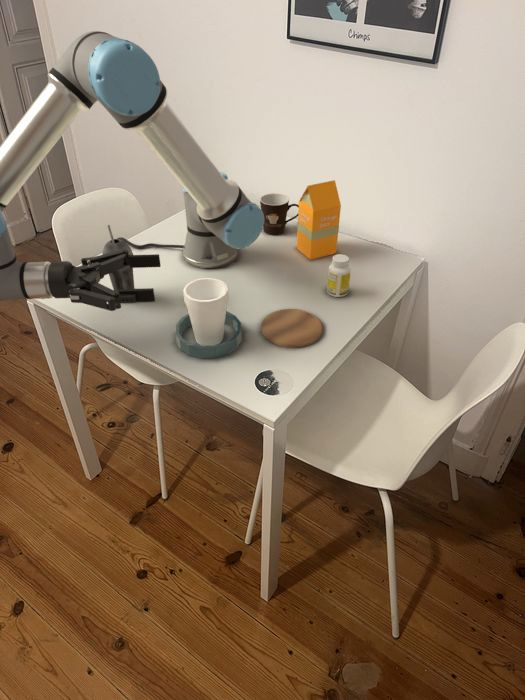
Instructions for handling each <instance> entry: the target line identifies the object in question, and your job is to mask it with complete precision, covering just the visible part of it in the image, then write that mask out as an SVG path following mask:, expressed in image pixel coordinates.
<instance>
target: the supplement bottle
mask: <svg viewBox="0 0 525 700" xmlns="http://www.w3.org/2000/svg"><path fill="white" fill-rule="evenodd" d="M349 262H350V257H349V256H348V255H346V254H342V253H340V254H335V255H333V256H332V260H331V264H330V265H329V266H328V273H327V283H326V285H327V286H326V292H327V294H328V295H330V296H331V297H335V298H342V297H346V296H347V295H348V293H349V287H350V278H351V271H352V270H351V266H350V264H349Z"/></svg>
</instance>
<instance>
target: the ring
mask: <svg viewBox="0 0 525 700" xmlns="http://www.w3.org/2000/svg"><path fill="white" fill-rule="evenodd" d="M225 324H227V325H228V326H230V327H232V328H233V329H234V330H235V334H234V335H233V336H232V337H231V338H229V339H227V340H226V341H224V342H220V343H219V344H217V345H209V346H202V345H200V344H196V343H191V342H190V341H188V340H187V339H184V338H183V336H182V335H183V333H184V332H185V331H186V330H187V329H189V328H190V327H192V324H191V320H190V316H189V313H187V314H185V315H183V316H182V317H181V318H180V319H179V321H178V322H176V323H175V339H176V340H175V341H176V344H177V347H178V348H179V349H180V351H181V352H183V353H185V354H187V356H189V357H194V358H198V359H202V360H203V359H217V358H220V357H223V356H226V355H227V356H228V355H229V354H231V353H232V352H233V351H235V350H236V349H238V347H239V345H240V344H241V343H242V341H243V340H242V339H243V338H242V322H241V321H240V320H239V318H238V317H237V315H235V314H233V313H231V312H229V311H227V310H226V317H225Z"/></svg>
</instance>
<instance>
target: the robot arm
mask: <svg viewBox="0 0 525 700" xmlns="http://www.w3.org/2000/svg"><path fill="white" fill-rule="evenodd" d="M47 81H48V82H47V84H46V86H45V87H44V88H43V89H42V91H41V92H40V93H39V94H38V96H37V97H36V98H35V100H34V101H33V102H32V104H30V106H29V107H28V109H27V110H26V112H25V113H24V114H23V116H22V117H21V118H20V119H19V120H18V122H17V123H16V124H15V126H14V127H13V129H12V130H11V131H10V132H9V134H8V135H7V136H6V137H5V139H4V140H3V142H2V143H1V144H0V302H2V301H11V300H37V299H38V300H44V299H46V300H47V299H52V298H55V299H69V300H70V302H71V303H74V304H84V305H87V306H92V307H94V308H95V307H96V308H99V309H103V310H106V311H110V312H114V311H116V310H119V309H121V308H122V304H136V303H155V302H156V297H155V296H156V295H155V291H154V288H153V287H151V288H145V287H144V288H134V289H120V290H119V293H120V294H119V293H118V292H116V291H114V289H113V288H110V287H108V286H106V285H103V284H102V283H100V282H101V280H102V279H104V278H105V276H107V275H109V273H112V272H114V271H117V270H119V269H122V268H124V267H127V266H129V265H130V268H133V269H140V268H141V269H143V268H144V269H145V268H161V258H160V253H158V254H133V255H129V253H128V251H127V250H120V251H116V252H112V253H108V254H104V255H102V254H100V255H96V256H90V257H82V258H80V261H81V265H78V266H75V265H73V263H72V262H71V261H68V260H61V261H59V260H58V261H57V260H56V261H55V260H54V261H52V262H50V261H30V262H29V261H28V262H27V261H26V262H24V261H18V257H17V254H16V252H15V249H14V246H13V243H12V238H11V235H10V231H9V229H8V223H7V221H6V219H5V217H4V214H3V212H4V210H6V208H7V206H8V205H9V203H10V202H11V201H12V200H13V198H15V196H16V194H18V193H19V191H20V189H21V188H22V187H23V186H24V184H25V183H26V182H27V181H28V180H29V178H30V177H31V176H32V174H33V173H34V172H35V171H36V169H37V168H38V167H39V166H40V164H41V163H42V162H43V160H44V159H45V158H46V156H47V155H48V154H49V153H50V151H52V149H53V147H55V145H56V144H57V143H58V141H59V140H60V139H61V138H62V136H63V135H64V134H65V133H66V131H67V130H68V129H69V127H71V125H72V123H73V122H74V121H75V120H76V119H77V117H78V116H79V114H80V113H81V112H89V111H90V110H91V109H92V107H93V106H94V104H96V102H99V103H100V104H101V106H102V107H103V108H104V109H105V110H106V111H107V112H108V114H109V115H110V116H111V117H112V118H113V120H115V122H117V124H118V125H119V126H120V127H121V128H122V129H123V130H127V131H130V130H132V131H135V133H136V134H137V135H138V136H139V138H140V139H141V140H142V141H143V142H144V143H145V144H146V145H147V147H148V148H149V149H150V151H152V152H153V154H154V155H155V156H156V157H157V158H158V160H159V161H160V162H161V164H163V166H164V167H166V169H167V170H168V171H169V172H170V174H171V175H172V176H173V178H175V179H176V181H177V182H178V183H179V184H180V185H181V187H182V188H183V189H182V193H183V201H184V210H185V220H186V231H187V232H186V236H185V241H184V244H161V243H160V244H159V243H154V242H153V243H149V242H148V243H145V244H141V245H140V244H135V243H133V242H130V240H128V239H126V238H124V237H117V238H116V239H120V240H123V241H125V242H126V243H127V244H128V245H129V246H130V247H132V248H134V249H135V248H136V249H145V248H148V247H154V248H155V247H156V248H168V249H169V248H170V249H171V248H174V249H182V257H183V260H184V261H185V262H186V264H188V265H190V266H192V267H195V268H199V269H200V268H201V269H217V268H222V267H226V266H228V265H230V264H232V263H233V262H235V260H236V259H237V257H238V250H241V249H245V248H247V247H249V246H251V245H252V244H254V242H255V241H257V239H258V238H259V237H260V235H261V233H262V231H263V225H264V214H263V212H262V210H261V207H259V205H258V204H257V203H255V202H252V201H251V200H250V199H249V198H248V196H246V194H245V193H244V191H243V190H242V188H241V187H240V186H239V185H238V184H237V182H236V181H235V180H232V179H229V178H228V175H227V174H226V173H224V172H221V171H219V169H218V167H217V166H216V165H215V163H214V162H213V161H212V160H211V158H210V157H209V156H208V154H207V153H206V151H205V150H204V149H203V148H202V146H201V145H200V144H199V142H198V141H197V139H196V138H195V137H194V135H193V134H192V133H191V131H190V130H189V129H188V128H187V127H186V125H185V124H184V123H183V121H182V120H181V119H180V117H179V116H178V115H177V113H176V112H175V110H174V109H173V108H172V107H171V105H170V104H169V103H168V101H167V100H168V99H167V98H168V89H167V87H166V86H165V84H164V82H163V81H162V80H161V76H160V73H159V70H158V67H157V65H156V63H155V61H154V59H152V57H151V56H150V55H149V54H148V52H146V51H145V49H143V47H141V46H140V45H138V44H136V43H135V42H133V41H130V40H128V39H124V38H120V37H117V36H114V35H113V34H110V33H107V32H105V31H100V30H93V31H88V32H85V33H83V34H81V35H79V36H78V37H77V38H75V40H73V41H72V43H70V45H69V46H67V48H66V49H65V51H64V52H63V53H62V54H61V56H60V57H59V58H58V59H57V61H56V63H55V64H54V65H53V67H52V68H51V69H50V70H49V71H48V72H47ZM123 262H124V263H123Z"/></svg>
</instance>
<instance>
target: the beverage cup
mask: <svg viewBox="0 0 525 700" xmlns="http://www.w3.org/2000/svg"><path fill="white" fill-rule="evenodd" d="M107 229H108V233H109V237H110V240H109V241H107V242H106V243H105V244H104V246H103V248H102V254H101V255H104V254H108V253H112V252H116V251H120V250H127V251H128V253H129V255H134V253H133V250H132V248H131V246H130V245H129V244H127V243H126V242H125V241H123V240H120V239H117V238H114V235H113V231H112V228H111V225H110V224H107ZM123 263H124V262H123ZM108 277H109V279H110V282H111V286H112V290H114V291H116V292H118V293H119V290H120V289H135V279H134V268H130V265H129V266H127V267H124V268H122V269H119V270H117V271H114V272H112V273H109V274H108ZM119 294H120V293H119Z"/></svg>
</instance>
